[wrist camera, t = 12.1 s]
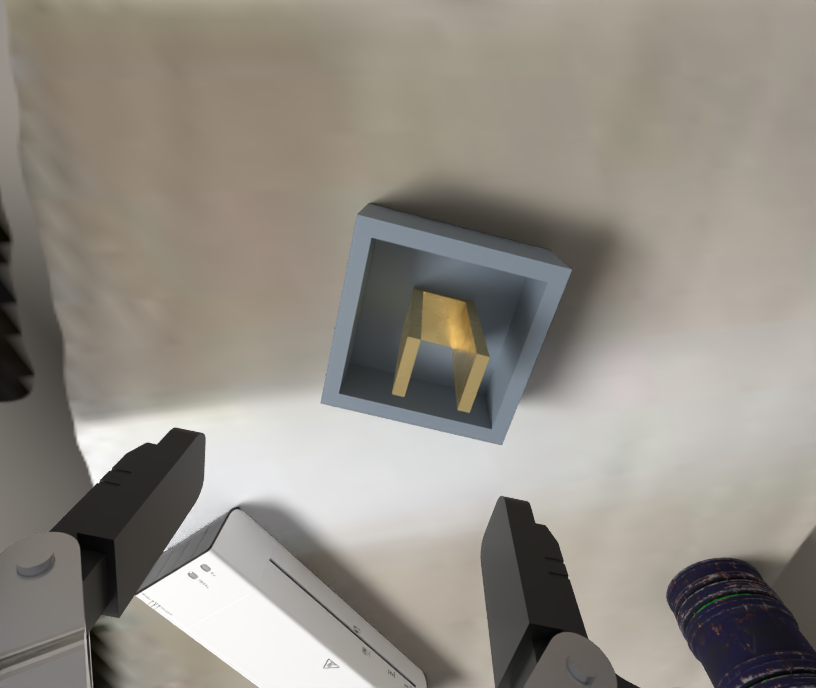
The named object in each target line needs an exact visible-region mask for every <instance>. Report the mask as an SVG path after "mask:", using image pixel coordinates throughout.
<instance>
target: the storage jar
mask: <svg viewBox="0 0 816 688" xmlns="http://www.w3.org/2000/svg"><path fill="white" fill-rule="evenodd" d="M666 597H667V602H668V604H669V606H670V608H671V610H672V611H673V613H674V615H675V618H676V620H677V622H678V626H679V628H680V630H681V632H682V634H683V636H684V638H685V639H686V641H687V642H688V646H689V648H690V650H691V651H692V653H693V654H694V656H695V657H696V658H697V659H698V660H699V661H700V662H701V663H702V665H703V667H704V669H705V671H706V672H707V674H708V676H709V678H710V680H711V682H712V684H713V686H714V688H816V652H815V650H814V649H813V648H812V646H811V645H810V644H809V642H808V641H807V640H806V639H805V637H804V636H803V635H802V633H801V632H800V631H799V627H798V624H797V622H796V620H795V619H794V617H793V615H792V613H791V612H790V611H789V610H788V608H786V607H785V605H784V604H783V602H782V601H781V599H780V598H779V597H778V596H777V594H776V593H775V592H774V591H773V590H772V589H771V588H770V587H769V586H768V585H767V584H766V583H765V581H763V579H762V577H761V575H760V574H759V573H758V571H757V570H756V569H755V568H754V567H753V566H751V565H750V564H748V563H746V562H744V561H741V560H737V559H732V558H714V559H708V560H704V561H701V562H698V563H695V564H693V565H691V566H689V567H687V568H685V569H684V570H682V571H681V572H679V573H678V574H677V575H676V576H675V577H674V578H673V580H672V581H671V582H670V584H669V586H668V589H667V594H666Z"/></svg>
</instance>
